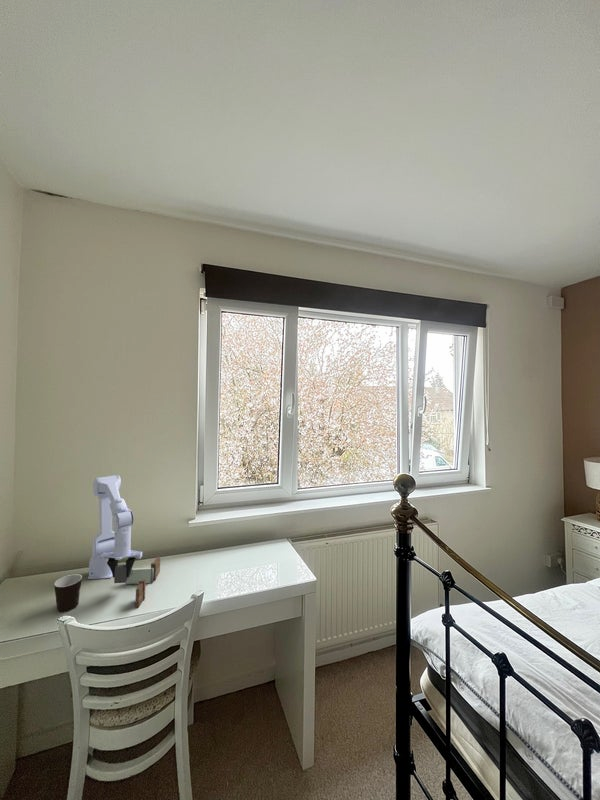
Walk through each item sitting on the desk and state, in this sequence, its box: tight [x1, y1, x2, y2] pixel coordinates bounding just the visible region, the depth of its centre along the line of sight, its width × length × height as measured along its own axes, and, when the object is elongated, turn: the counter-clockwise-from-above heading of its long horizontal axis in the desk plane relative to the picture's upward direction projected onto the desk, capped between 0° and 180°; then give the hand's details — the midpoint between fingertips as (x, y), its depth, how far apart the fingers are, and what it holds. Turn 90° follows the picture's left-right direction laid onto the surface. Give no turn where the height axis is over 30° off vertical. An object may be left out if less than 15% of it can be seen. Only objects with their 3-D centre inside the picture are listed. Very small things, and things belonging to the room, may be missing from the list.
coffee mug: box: [53, 573, 83, 613], centre depth 122 cm, size 12×9×10 cm
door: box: [125, 567, 154, 585], centre depth 137 cm, size 11×1×6 cm, turn 97°
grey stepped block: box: [113, 563, 133, 584], centre depth 129 cm, size 7×4×6 cm, turn 7°
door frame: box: [135, 555, 161, 609], centre depth 134 cm, size 2×26×8 cm, turn 7°
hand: (121, 576), depth 127 cm, fingers closed on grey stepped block, 4 cm apart
